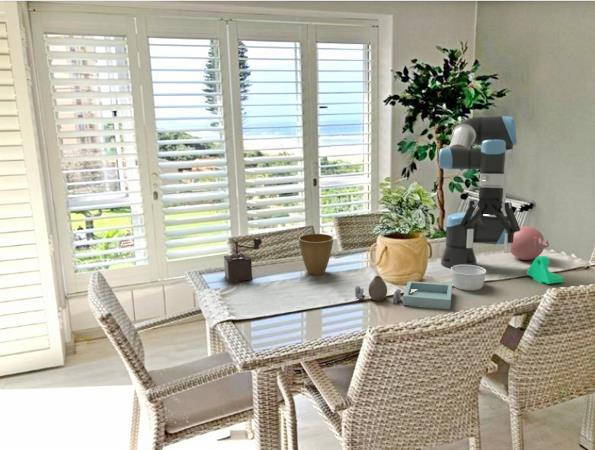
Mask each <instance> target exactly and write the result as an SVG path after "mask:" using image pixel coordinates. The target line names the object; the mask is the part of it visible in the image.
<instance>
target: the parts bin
mask: <svg viewBox="0 0 595 450" xmlns="http://www.w3.org/2000/svg"><path fill="white" fill-rule="evenodd" d="M411 289H418V291H416V292H412V293H410V292H411ZM452 294H453V283H452V284H451V283H440V282H439V283H438V282H425V281H424V282H422V281H410V280H409V281H407V284H406V286H405V289H404V292H403V295H402V306H404V305H412V306H411V307H416V306H422V307H421V308H427V307H431V308H430V309H441V310H451V303H452Z"/></svg>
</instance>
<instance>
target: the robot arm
mask: <svg viewBox="0 0 595 450" xmlns="http://www.w3.org/2000/svg"><path fill="white" fill-rule="evenodd" d="M516 128H517V127H516V119H515V118H514V116H506V115H499V116H496V115H495V116H474V117H470V118H467V119H465V120H463V121H461V122H459V123H458V124H457V125H456V126H455V127H454V128H453V130H452V132H451V141H450V144H449V145H448V147H442V148H440V149H439V153H438V166H439V168H440V169H441V170H443V169H445V170H480V171H479V186H480V187H479V188H478V201H477V200H470V201H469V206H468V208H467V210H466V211H461V212H454V213H452V214H450V215H447V218H446V224H445V227H446V229H445V247H444V250H443V252H442V256H441V259H440V264H441V265H442V266H443V267H446V268H450V269H451V267H453V266H456V265H475V266H477V257H476V254H475V251H474V244H486V245H487V244H488V245H495V246H497V245H503V254H510V253H511V252H510V247H511V243H513V238H514V233H515V232H518V231H520V227H521V226H520V225H519V222H518V220H517V218H516V215H515V213H514V210H513V203H512V202H507V187H508V186H507V185H508V171H509V170H508V169H509V167H508V166H509V154H510V153H511V152H512V151H513V149H514V146H517V144H518V142H517V141H518V140H517V130H516ZM472 146H481V147H472ZM477 207H478V210H477V211H476V209H477ZM475 211H476V212H475Z"/></svg>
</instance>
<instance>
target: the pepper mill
mask: <svg viewBox="0 0 595 450" xmlns="http://www.w3.org/2000/svg"><path fill="white" fill-rule="evenodd" d="M252 241H253V246H250V245H240V244H238V243H239V242H238V240H235V241H234V243H235V244H234V246H235V252H234V253H231V254H230V255H224V256H223V265H224V267H223V268H224V277H225V279H226V278H227V279H226V281H227V280H228V281H229V282H234V283H237V282H236V281H242V282H246V281H245V280H247V281H251V279H252V280H253V272H252V271H253V267H252V258H251V257H250V256H249V255H248V254H247V253H242V252H239V248H245V249H252V250H259V249H260V245H261V244H262V242H263V240H262V239H261V237H254V238H253V239H252ZM228 281H227V282H228ZM229 282H228V283H229Z"/></svg>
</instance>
